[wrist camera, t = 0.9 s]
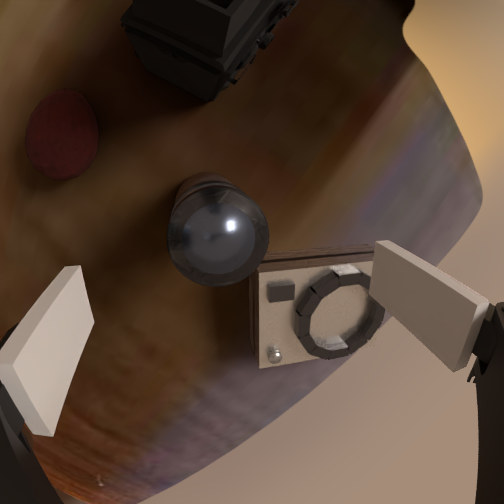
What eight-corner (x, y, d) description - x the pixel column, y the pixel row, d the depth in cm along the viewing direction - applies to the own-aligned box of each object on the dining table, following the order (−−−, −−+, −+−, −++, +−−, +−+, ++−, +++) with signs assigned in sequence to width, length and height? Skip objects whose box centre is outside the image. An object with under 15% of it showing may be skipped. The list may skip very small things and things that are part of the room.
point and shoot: (250, 341, 36) (261, 375, 30) (248, 253, 32) (262, 278, 27) (355, 324, 39) (379, 351, 33) (366, 243, 35) (397, 262, 29)
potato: (41, 180, 25) (13, 189, 20) (41, 99, 23) (13, 93, 17) (106, 174, 27) (88, 181, 21) (107, 89, 24) (89, 77, 19)
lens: (176, 236, 30) (172, 291, 19) (172, 173, 28) (162, 191, 17) (241, 231, 32) (273, 282, 20) (240, 169, 29) (273, 185, 18)
